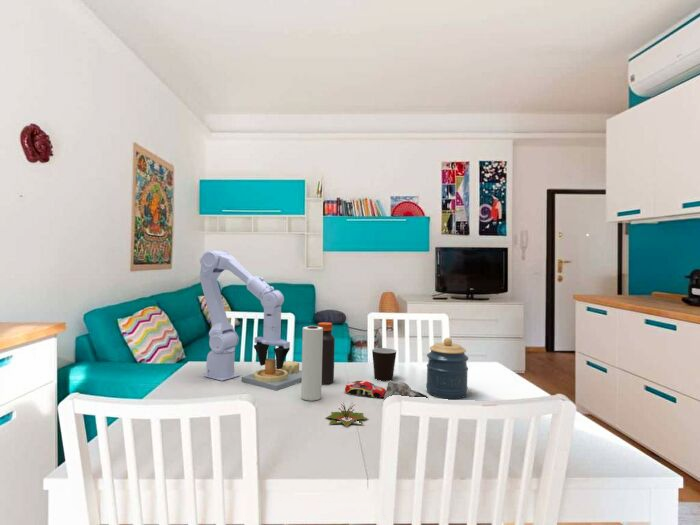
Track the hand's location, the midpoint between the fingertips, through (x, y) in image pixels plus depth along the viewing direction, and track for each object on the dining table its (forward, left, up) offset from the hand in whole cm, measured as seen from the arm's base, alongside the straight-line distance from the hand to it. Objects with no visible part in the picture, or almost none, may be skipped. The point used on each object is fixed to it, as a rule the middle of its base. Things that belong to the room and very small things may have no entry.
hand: (271, 366), depth 144 cm
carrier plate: (0, +4, -5) cm, 6 cm away
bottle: (+14, +11, -5) cm, 19 cm away
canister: (+52, +26, -5) cm, 58 cm away
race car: (+32, +9, -6) cm, 34 cm away
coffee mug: (+28, +29, -5) cm, 41 cm away
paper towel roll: (+21, -4, -5) cm, 22 cm away
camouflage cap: (+47, +8, -6) cm, 48 cm away
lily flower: (+39, -12, -6) cm, 41 cm away
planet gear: (0, 0, -4) cm, 4 cm away
